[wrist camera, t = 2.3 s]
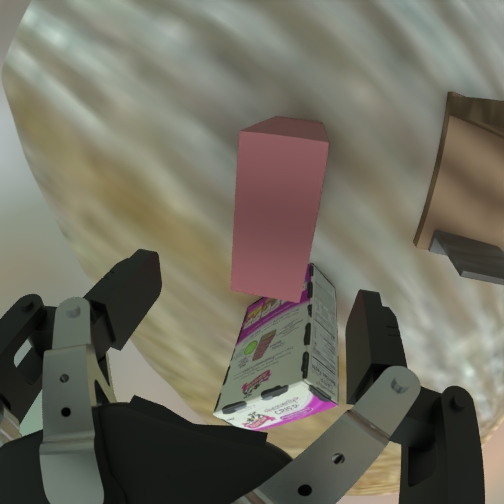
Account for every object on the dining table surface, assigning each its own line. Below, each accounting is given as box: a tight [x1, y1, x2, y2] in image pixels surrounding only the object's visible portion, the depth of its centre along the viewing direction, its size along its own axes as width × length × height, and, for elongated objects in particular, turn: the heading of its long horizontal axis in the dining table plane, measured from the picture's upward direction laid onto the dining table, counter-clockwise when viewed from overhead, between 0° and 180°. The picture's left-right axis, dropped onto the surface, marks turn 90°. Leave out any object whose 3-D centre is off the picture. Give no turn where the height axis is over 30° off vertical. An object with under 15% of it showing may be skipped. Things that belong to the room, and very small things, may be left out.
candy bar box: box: [213, 264, 339, 431], centre depth 29 cm, size 11×5×16 cm, turn 137°
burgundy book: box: [231, 116, 329, 303], centre depth 22 cm, size 10×4×14 cm, turn 176°
